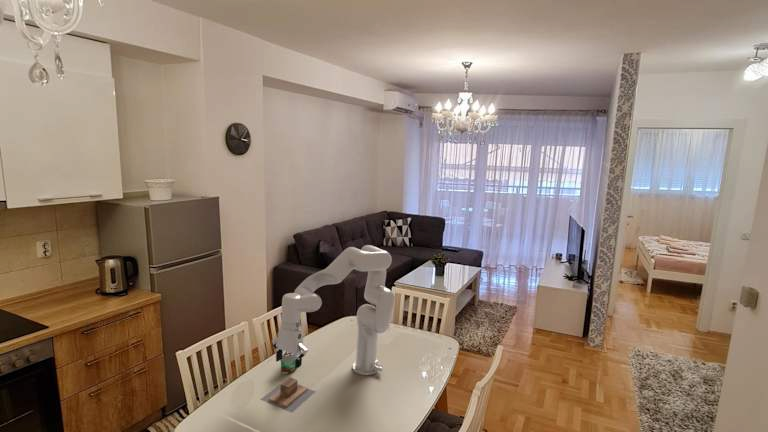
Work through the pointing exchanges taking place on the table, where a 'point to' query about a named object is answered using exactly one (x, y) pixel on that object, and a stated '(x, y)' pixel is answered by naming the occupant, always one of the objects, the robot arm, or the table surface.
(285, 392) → the walnut lid
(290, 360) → the food container
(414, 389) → the table surface
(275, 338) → the robot arm
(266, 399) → the rubber mat
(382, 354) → the table surface
